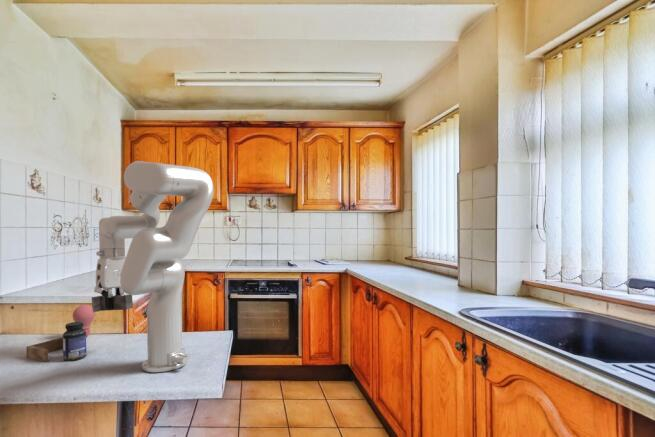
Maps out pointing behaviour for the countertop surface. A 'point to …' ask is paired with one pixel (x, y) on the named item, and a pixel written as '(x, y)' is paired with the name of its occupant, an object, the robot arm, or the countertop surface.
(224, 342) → the countertop surface
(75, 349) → the pill bottle
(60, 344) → the bay
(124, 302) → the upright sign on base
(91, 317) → the light bulb
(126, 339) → the countertop surface
